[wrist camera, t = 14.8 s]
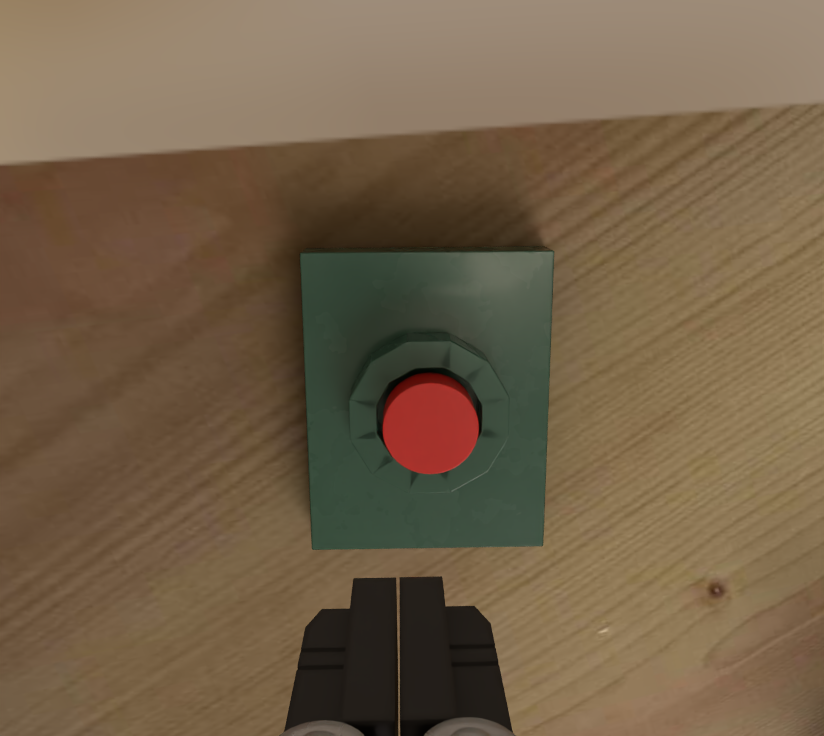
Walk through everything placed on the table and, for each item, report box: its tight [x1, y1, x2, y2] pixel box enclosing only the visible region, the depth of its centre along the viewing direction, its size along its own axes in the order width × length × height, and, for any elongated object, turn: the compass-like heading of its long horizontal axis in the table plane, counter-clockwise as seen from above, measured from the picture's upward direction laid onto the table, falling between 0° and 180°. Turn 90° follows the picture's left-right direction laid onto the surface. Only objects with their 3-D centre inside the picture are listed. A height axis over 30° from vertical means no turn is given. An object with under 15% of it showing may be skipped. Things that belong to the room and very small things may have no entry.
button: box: [382, 372, 479, 474], centre depth 33 cm, size 4×4×2 cm
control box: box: [300, 246, 554, 550], centre depth 35 cm, size 14×11×4 cm
